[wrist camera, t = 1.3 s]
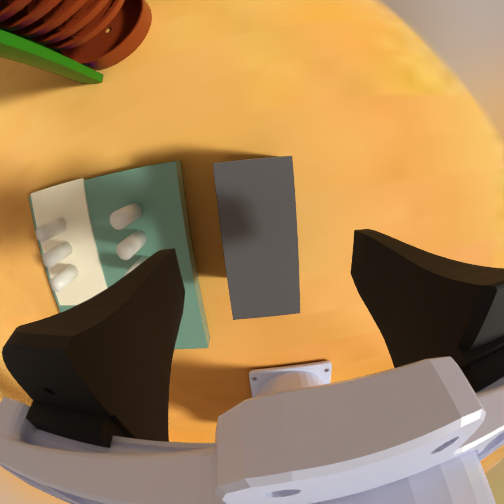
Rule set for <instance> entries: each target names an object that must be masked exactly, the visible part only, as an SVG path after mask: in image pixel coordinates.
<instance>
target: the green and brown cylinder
mask: <svg viewBox="0 0 504 504" xmlns="http://www.w3.org/2000/svg"><path fill="white" fill-rule="evenodd" d="M151 20H152V14H151V10H150V8H149V6H148V4H147V3H146V1H145V0H0V57H2V58H6V59H10V60H13V61H17V62H20V63H24V64H27V65H30V66H33V67H37V68H40V69H43V70H46V71H49V72H52V73H55V74H58V75H61V76H63V77H66V78H69V79H72V80H74V81H77V82H80V83H85V84H95V83H101V82H102V79H103V75H102V74H100V73H98V72H96V71H94V70H100V69H104V68H108V67H110V66H113V65H115V64H117V63H119V62H120V61H122V60H124V59H125V58H126V57H128V56H129V55H130V54H131V53H132V52H134V51H135V50H136V49H137V47H138V46H139V45H140V44H141V43H142V41H143V40H144V38H145V37H146V35H147V33H148V31H149V28H150V25H151ZM108 28H111V31H110V32H109V33H106V30H107V29H108Z"/></svg>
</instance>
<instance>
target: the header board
mask: <svg viewBox="0 0 504 504" xmlns="http://www.w3.org/2000/svg"><path fill="white" fill-rule="evenodd" d="M29 201H30V207H31V212H32V217H33V222H34V227H35V231H36V237H37V240H38V244H39V248H40V252H41V255H42V261H43V263H44V266H45V269H46V272H47V276H48V279H49V282H50V286H51V288H52V291H53V294H54V297H55V299H56V302H57V305H58V308H59V310H60V313H61V312H63V311H66V310H68V309H70V308H72V307H74V306H76V305H78V304H80V303H82V302H84V301H86V300H88V299H90V298H92V297H94V296H95V295H97V294H99V293H100V292H102V291H104V290H105V289H107V288H108V287H110V286H111V285H113V284H114V283H116V282H117V281H118V280H120V279H121V278H123V277H124V276H125V275H127V274H128V273H129V272H131V271H132V270H133V269H135V268H136V267H137V266H138V265H140V264H141V263H142V262H144V261H145V260H146V259H148V258H149V257H150V256H152V255H153V254H154V253H156V252H158V251H159V250H164V249H173V248H175V251H176V255H177V260H178V264H179V268H180V272H181V276H182V280H183V284H184V288H185V300H184V310H183V315H182V319H181V323H180V327H179V331H178V335H177V340H176V344H175V348H174V349H196V348H208V346H209V340H210V336H209V331H208V327H207V322H206V317H205V312H204V307H203V302H202V297H201V291H200V286H199V280H198V275H197V269H196V264H195V258H194V252H193V246H192V240H191V233H190V227H189V220H188V213H187V206H186V199H185V192H184V184H183V176H182V168H181V161H173V162H167V163H161V164H156V165H150V166H145V167H140V168H135V169H130V170H125V171H121V172H116V173H112V174H107V175H103V176H99V177H95V178H91V179H87V180H84V178H80V179H77V180H73V181H69V182H66V183H62V184H59V185H56V186H52V187H49V188H46V189H43V190H40V191H37V192H34V193H31V196H29Z"/></svg>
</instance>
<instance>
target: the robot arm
mask: <svg viewBox="0 0 504 504" xmlns="http://www.w3.org/2000/svg"><path fill="white" fill-rule="evenodd" d="M351 275H352V278H353V281H354V283H355V286H356V288H357V290H358V293H359V294H360V296H361V298H362V300H363V301H364V303H365V305H366V307H367V308H368V310H369V312H370V314H371V315H372V317H373V319H374V321H375V322H376V324H377V326H378V328H379V329H380V331H381V333H382V336H383V338H384V340H385V342H386V345H387V348H388V350H389V353H390V356H391V358H392V361H393V364H394V369H390V370H387V371H383V372H379V373H375V374H371V375H367V376H363V377H358V378H354V379H349V380H344V381H340V382H334V383H330V379H331V369H332V364H331V362H330V361H321V362H315V363H308V364H301V365H293V366H285V367H276V368H266V369H255V370H251V371H250V372H249V380H250V386H251V393H252V398H249V399H245V400H244V401H242V402H241V403H239V404H238V405H236V406H234V407H233V408H231V409H229V410H228V411H226V412H225V413H223V414H222V415H220V416H218V421H217V426H216V436H215V443H181V442H169V438H168V401H169V383H170V372H171V363H172V357H173V352H174V348H175V344H176V340H177V335H178V331H179V327H180V323H181V319H182V315H183V310H184V300H185V288H184V284H183V280H182V276H181V272H180V268H179V264H178V260H177V255H176V251H175V248H173V249H164V250H159V251H158V252H156V253H154V254H153V255H152V256H150V257H149V258H148V259H146V260H145V261H144V262H142V263H141V264H140V265H138V266H137V267H136V268H135V269H133V270H132V271H131V272H129V273H128V274H127V275H125V276H124V277H123V278H121V279H120V280H118V281H117V282H116V283H114V284H113V285H111V286H110V287H108V288H107V289H105V290H104V291H102V292H100V293H99V294H97V295H95V296H94V297H92V298H90V299H88V300H86V301H84V302H82V303H80V304H78V305H76V306H74V307H72V308H70V309H68V310H66V311H63V312H61V313H58V314H56V315H53V316H51V317H48V318H45V319H42V320H39V321H35V322H32V323H28V324H25V325H21V326H18V327H17V328H16V329H15V331H14V332H13V334H12V335H11V336H10V338H9V339H8V341H7V342H6V344H5V345H4V347H3V350H2V355H3V360H4V363H5V365H6V367H7V369H8V370H9V372H10V373H11V375H12V376H13V377H14V378H15V380H16V381H17V382H18V383H19V385H20V386H21V387H22V388H23V389H24V390H25V392H26V393H27V394H28V395H29V396H30V397H31V398H32V400H33V402H32V405H31V407H29V406H28V405H26V404H25V403H22V402H20V401H17V400H14V399H11V398H8V397H3V398H2V401H1V403H0V466H2V467H3V468H5V469H6V470H7V471H9V472H10V473H12V474H13V475H15V476H16V477H18V478H19V479H21V480H23V481H24V482H26V483H28V484H29V485H31V486H33V487H35V488H37V489H39V490H41V491H43V492H46V493H48V494H50V495H52V496H54V497H57V498H59V499H61V500H63V501H66V502H68V503H71V504H496V503H495V500H494V497H493V494H492V491H491V489H490V486H489V483H488V481H487V478H486V476H485V473H484V471H483V468H482V466H481V463H480V461H481V460H482V459H484V458H485V457H486V456H488V455H489V454H491V453H492V452H493V451H495V450H496V449H497V448H499V447H500V446H501V445H503V444H504V269H503V268H492V267H484V266H478V265H472V264H467V263H463V262H459V261H455V260H451V259H447V258H444V257H441V256H438V255H434V254H432V253H429V252H426V251H424V250H421V249H418V248H416V247H413V246H411V245H408V244H406V243H404V242H401V241H399V240H397V239H394V238H392V237H390V236H387V235H385V234H382V233H380V232H377V231H374V230H370V229H363V230H354V244H353V255H352V266H351ZM327 368H328V369H327ZM325 369H326V370H325ZM254 377H256V378H254Z"/></svg>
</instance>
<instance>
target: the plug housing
mask: <svg viewBox="0 0 504 504" xmlns="http://www.w3.org/2000/svg"><path fill="white" fill-rule="evenodd" d="M213 170H214V178H215V187H216V196H217V204H218V212H219V220H220V228H221V236H222V244H223V251H224V259H225V266H226V273H227V280H228V287H229V294H230V301H231V308H232V314H233V320H236V319H247V318H258V317H269V316H278V315H287V314H296V313H300V289H299V259H298V237H297V218H296V202H295V187H294V174H293V161H292V156H281V157H266V158H255V159H244V160H234V161H225V162H218V163H213Z"/></svg>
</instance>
